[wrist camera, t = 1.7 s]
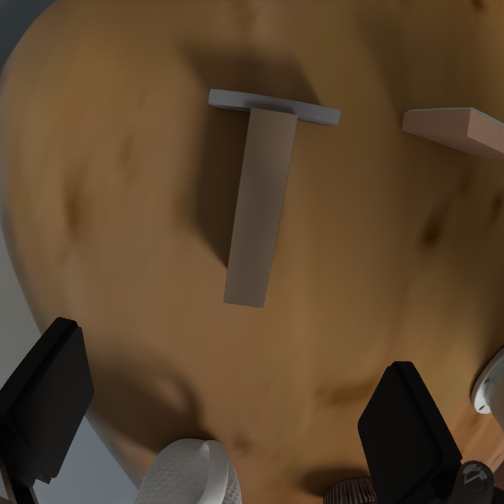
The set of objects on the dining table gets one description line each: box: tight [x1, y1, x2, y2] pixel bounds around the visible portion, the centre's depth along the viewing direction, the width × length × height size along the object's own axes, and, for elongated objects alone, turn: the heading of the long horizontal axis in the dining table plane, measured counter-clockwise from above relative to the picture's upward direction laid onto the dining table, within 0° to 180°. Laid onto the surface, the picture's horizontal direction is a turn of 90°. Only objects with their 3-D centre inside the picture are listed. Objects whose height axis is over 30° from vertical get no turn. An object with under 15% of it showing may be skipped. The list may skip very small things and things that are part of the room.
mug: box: [135, 438, 242, 504], centre depth 25 cm, size 15×11×13 cm
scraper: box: [208, 89, 341, 308], centre depth 19 cm, size 7×12×4 cm, turn 171°
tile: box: [401, 107, 504, 162], centre depth 16 cm, size 6×2×8 cm, turn 81°
